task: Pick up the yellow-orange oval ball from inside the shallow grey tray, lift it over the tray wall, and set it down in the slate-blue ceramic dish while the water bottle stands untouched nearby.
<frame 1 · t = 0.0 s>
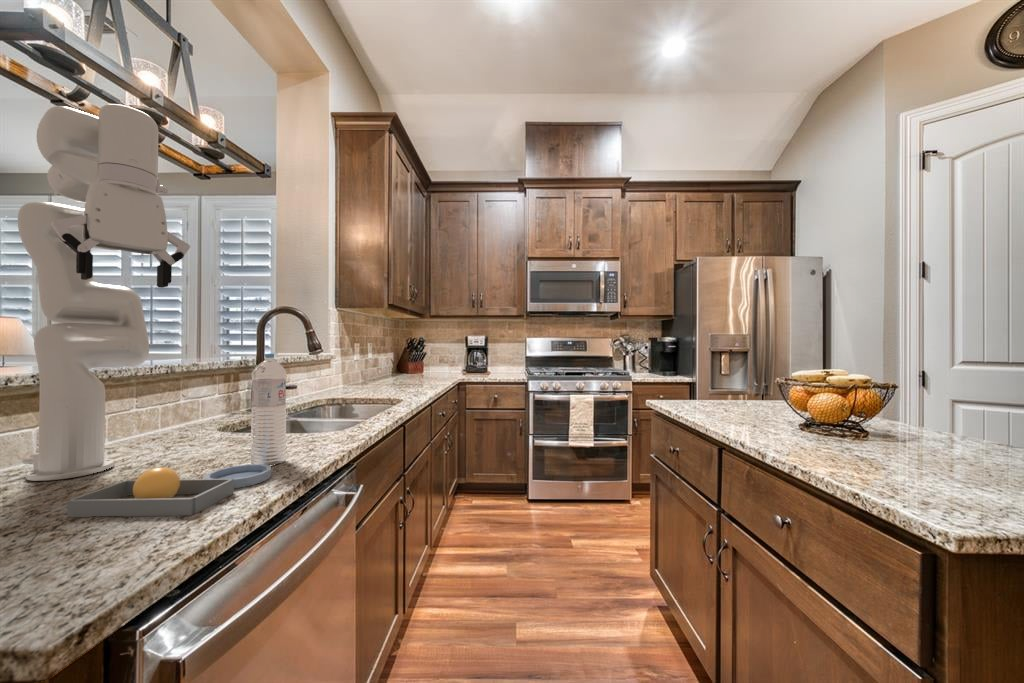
hand: (126, 283, 69), 37 cm above the table, tool pointing down, fingers open, 9 cm apart
yellow-orange oval ball: (156, 504, 68), resting in shallow grey tray
shallow grey tray: (156, 503, 68), on the table
water bottle: (268, 464, 92), on the table
dish: (239, 480, 80), on the table
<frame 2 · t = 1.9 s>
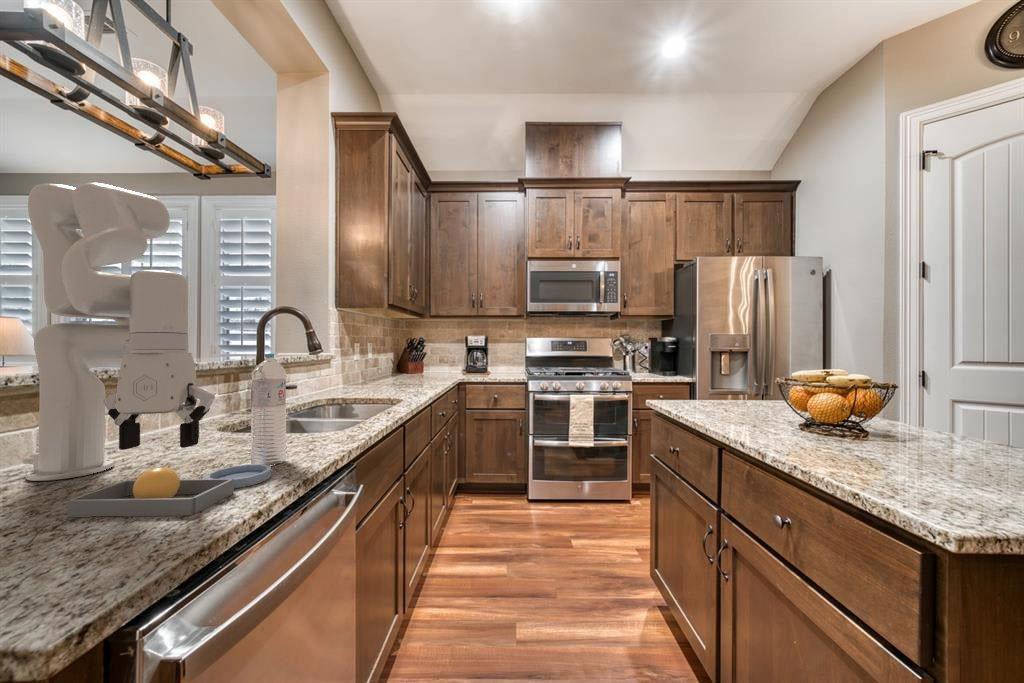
hand: (159, 447, 68), 10 cm above the table, tool pointing down, fingers open, 9 cm apart
nothing on the table moved.
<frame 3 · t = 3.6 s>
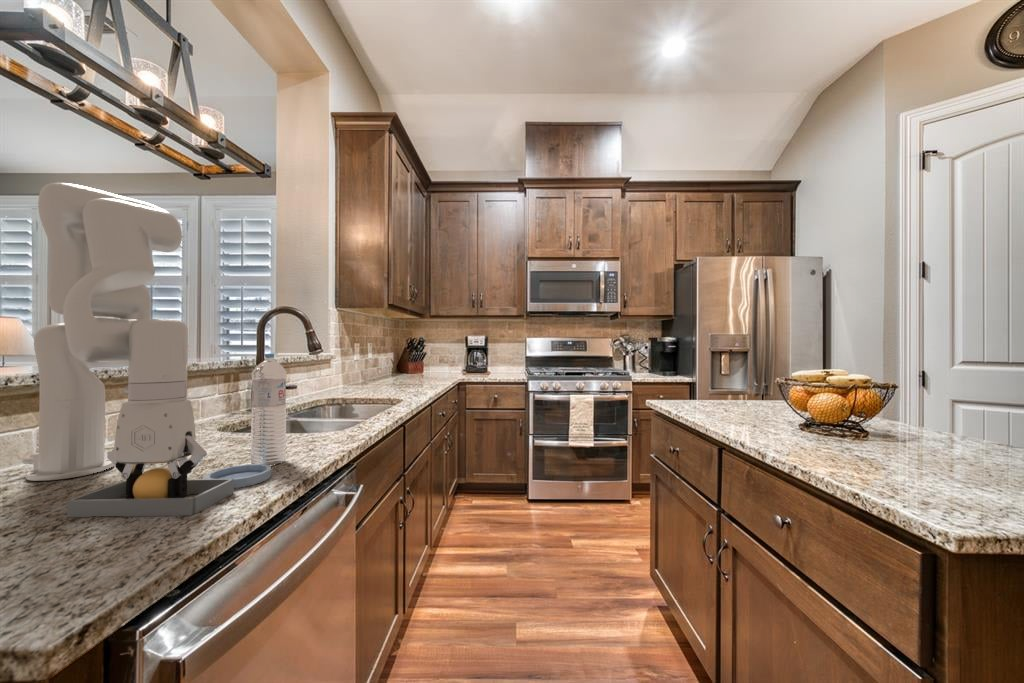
hand: (156, 499, 68), 1 cm above the table, tool pointing down, fingers closed on yellow-orange oval ball, 5 cm apart
yellow-orange oval ball: (156, 504, 68), resting in shallow grey tray, touching gripper
everything else where it was.
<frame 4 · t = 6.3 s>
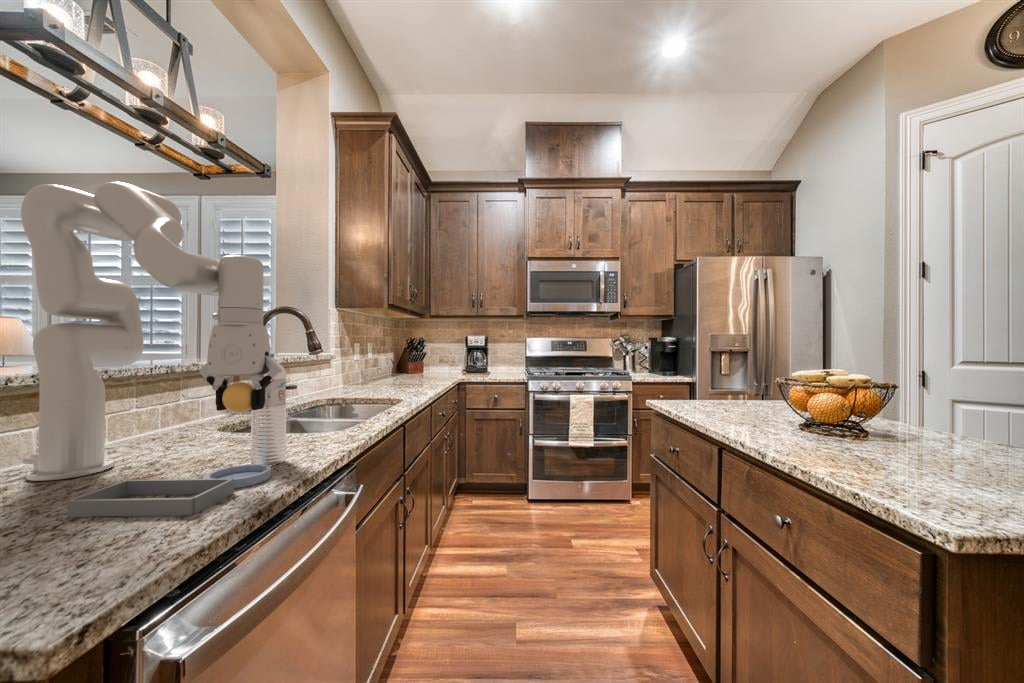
hand: (240, 408, 80), 14 cm above the table, tool pointing down, fingers closed on yellow-orange oval ball, 5 cm apart
yellow-orange oval ball: (240, 412, 80), point 13 cm above the table, touching gripper
everything else where it was.
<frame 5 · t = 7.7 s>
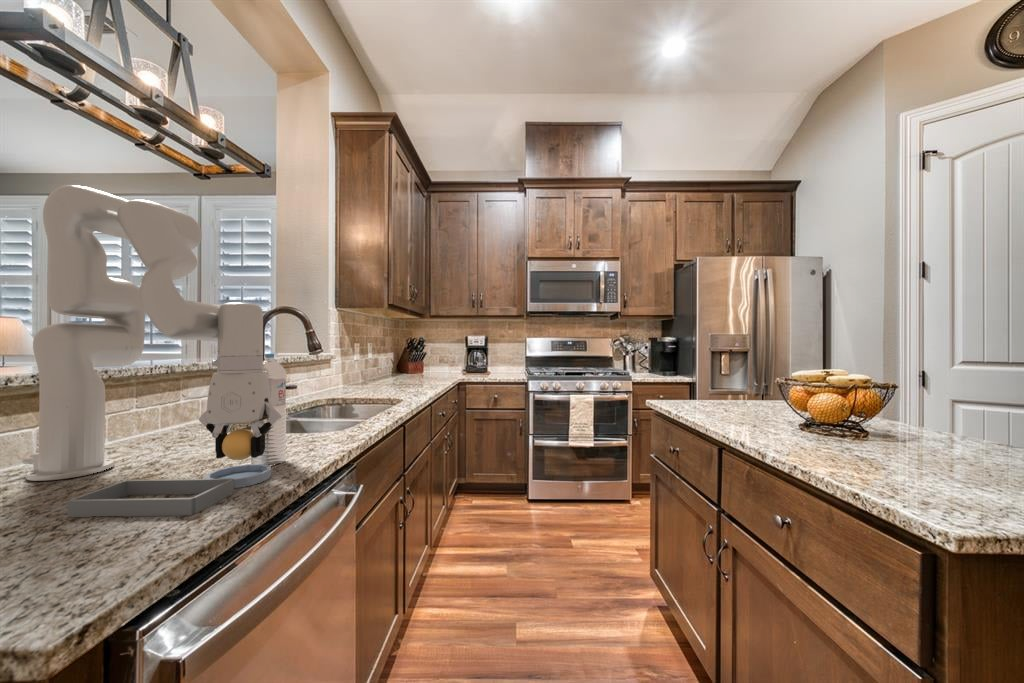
hand: (240, 455, 80), 5 cm above the table, tool pointing down, fingers closed on yellow-orange oval ball, 5 cm apart
yellow-orange oval ball: (240, 459, 80), point 4 cm above the table, touching gripper
everything else where it was.
when the fingers open (3 cm above the table, at t = 9.0 s): yellow-orange oval ball drops 2 cm, resting on dish.
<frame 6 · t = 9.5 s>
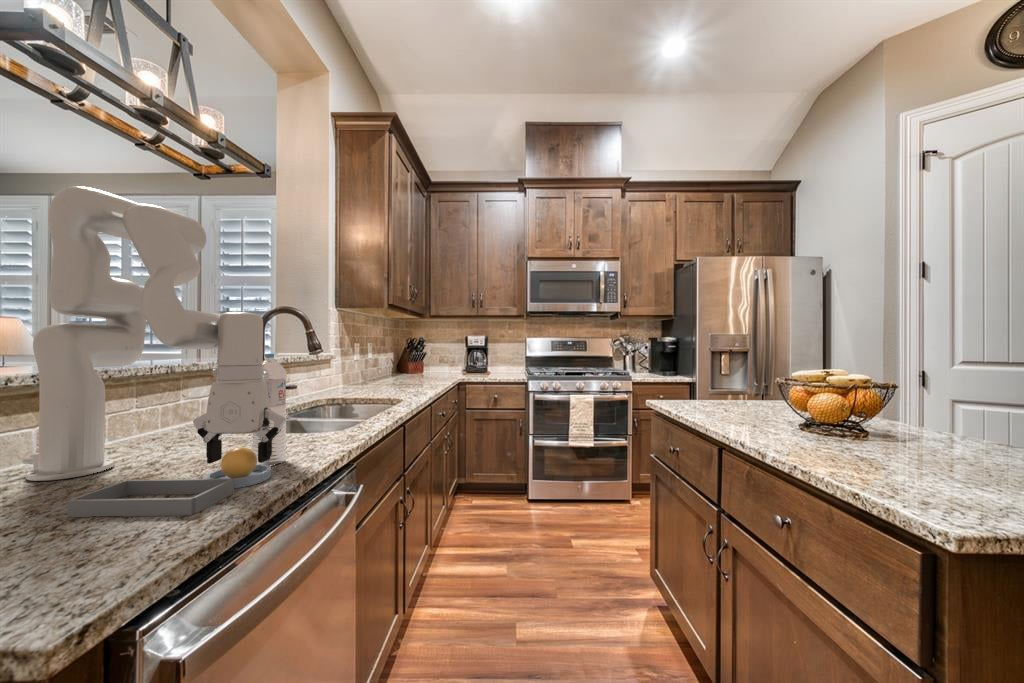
hand: (239, 461, 80), 4 cm above the table, tool pointing down, fingers open, 9 cm apart
yellow-orange oval ball: (238, 477, 80), resting on dish
everything else where it was.
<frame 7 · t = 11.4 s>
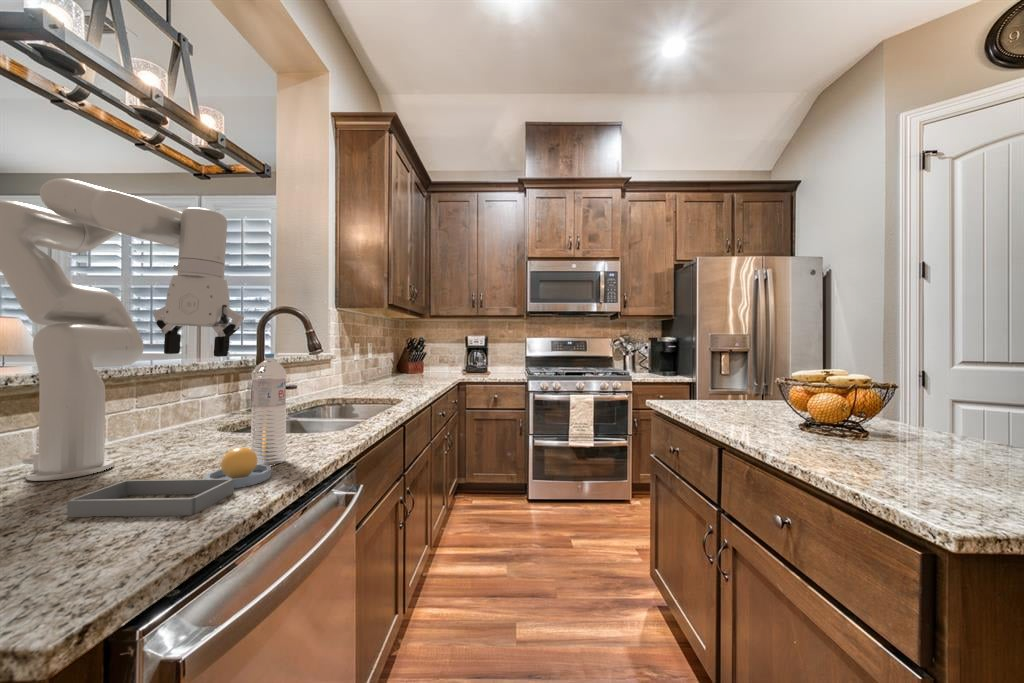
hand: (196, 355, 82), 25 cm above the table, tool pointing down, fingers open, 9 cm apart
nothing on the table moved.
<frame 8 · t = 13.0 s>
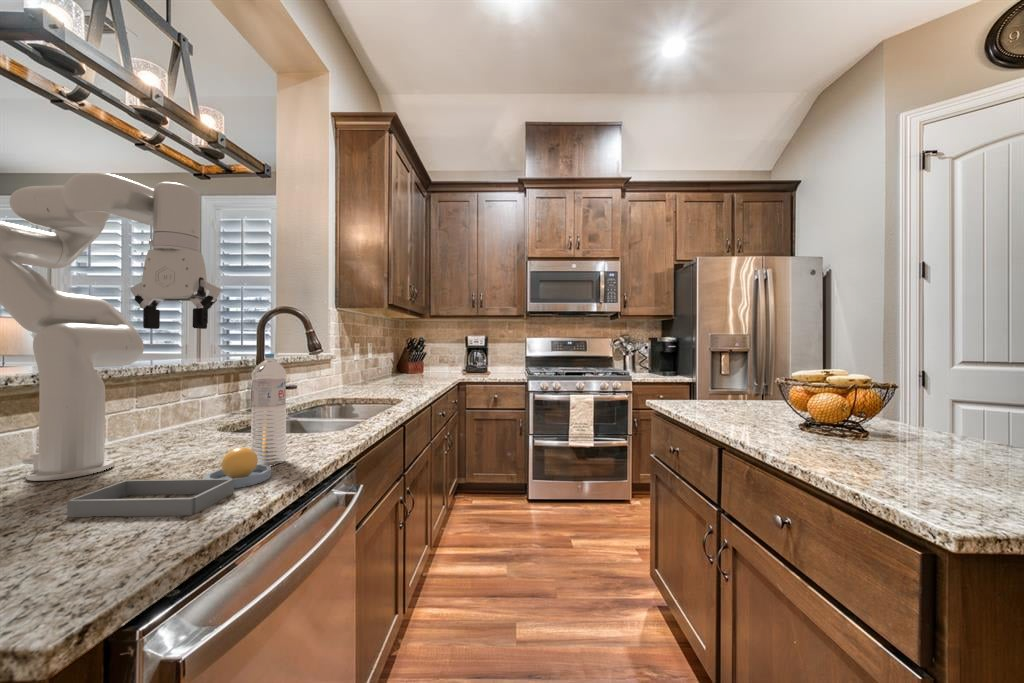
hand: (175, 328, 83), 30 cm above the table, tool pointing down, fingers open, 9 cm apart
nothing on the table moved.
at the end: yellow-orange oval ball inside the target area on the dish (0.0 cm from its centre), point 0.5 cm above the dish's base; the gripper is holding nothing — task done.
